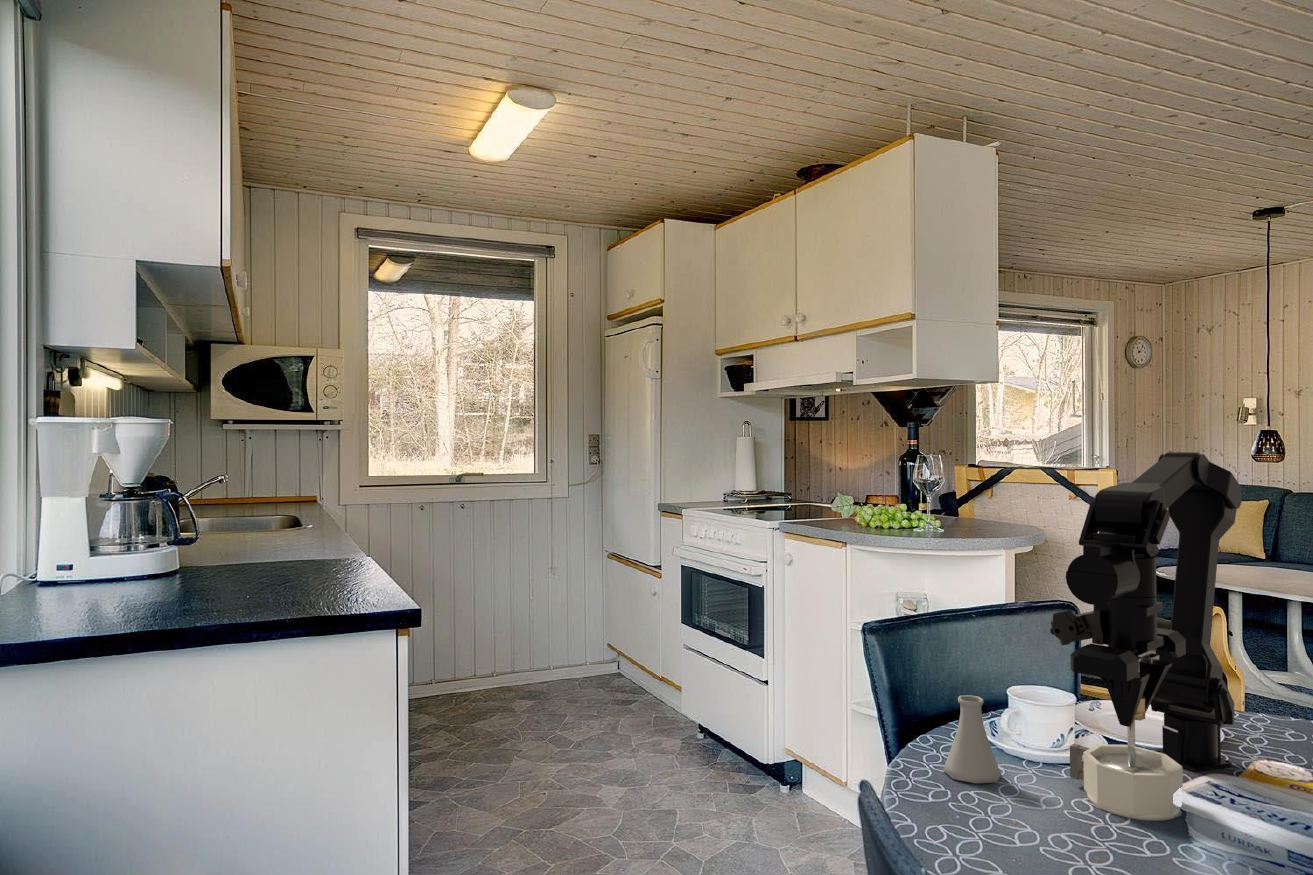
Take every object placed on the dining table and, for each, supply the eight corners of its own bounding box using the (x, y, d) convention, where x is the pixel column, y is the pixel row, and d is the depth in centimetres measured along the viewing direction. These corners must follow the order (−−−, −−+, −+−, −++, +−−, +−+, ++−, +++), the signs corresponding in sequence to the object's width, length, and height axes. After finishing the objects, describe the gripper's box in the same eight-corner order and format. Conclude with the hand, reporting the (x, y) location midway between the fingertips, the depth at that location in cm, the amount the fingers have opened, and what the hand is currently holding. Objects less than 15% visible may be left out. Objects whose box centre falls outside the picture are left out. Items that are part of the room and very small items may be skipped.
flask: (1006, 787, 105) (1005, 708, 105) (946, 783, 107) (945, 705, 107) (995, 765, 112) (994, 691, 113) (939, 761, 114) (938, 689, 114)
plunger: (1113, 754, 106) (1112, 683, 106) (1176, 771, 100) (1175, 696, 100) (1087, 768, 101) (1086, 695, 101) (1152, 787, 95) (1151, 709, 96)
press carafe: (1089, 773, 109) (1089, 734, 109) (1193, 803, 100) (1192, 760, 100) (1054, 794, 103) (1053, 752, 103) (1161, 828, 94) (1160, 782, 94)
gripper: (1093, 576, 113) (1095, 691, 113) (1025, 594, 101) (1027, 723, 101) (1186, 587, 104) (1188, 712, 104) (1123, 607, 92) (1126, 748, 92)
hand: (1131, 722), depth 101 cm, fingers closed on plunger, 3 cm apart
